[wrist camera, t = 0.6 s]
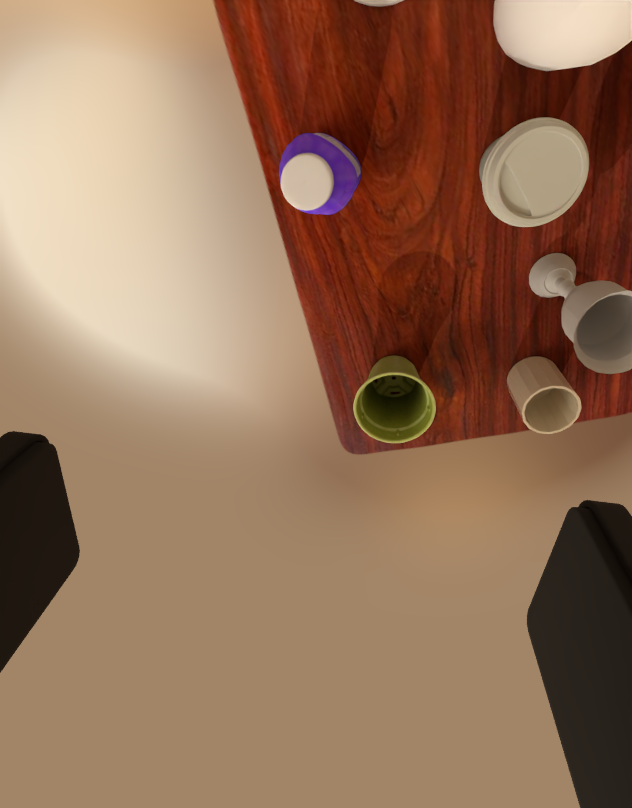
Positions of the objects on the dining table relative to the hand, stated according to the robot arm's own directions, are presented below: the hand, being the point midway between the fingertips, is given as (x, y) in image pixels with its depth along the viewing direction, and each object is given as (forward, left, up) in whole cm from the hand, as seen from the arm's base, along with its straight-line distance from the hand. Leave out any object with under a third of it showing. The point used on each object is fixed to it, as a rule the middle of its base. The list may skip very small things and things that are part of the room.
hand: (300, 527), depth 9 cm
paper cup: (+21, +22, -52) cm, 60 cm away
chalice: (+8, +21, -52) cm, 57 cm away
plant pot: (+22, +5, -52) cm, 57 cm away
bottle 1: (-2, -5, -52) cm, 52 cm away
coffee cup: (-3, +14, -52) cm, 54 cm away
